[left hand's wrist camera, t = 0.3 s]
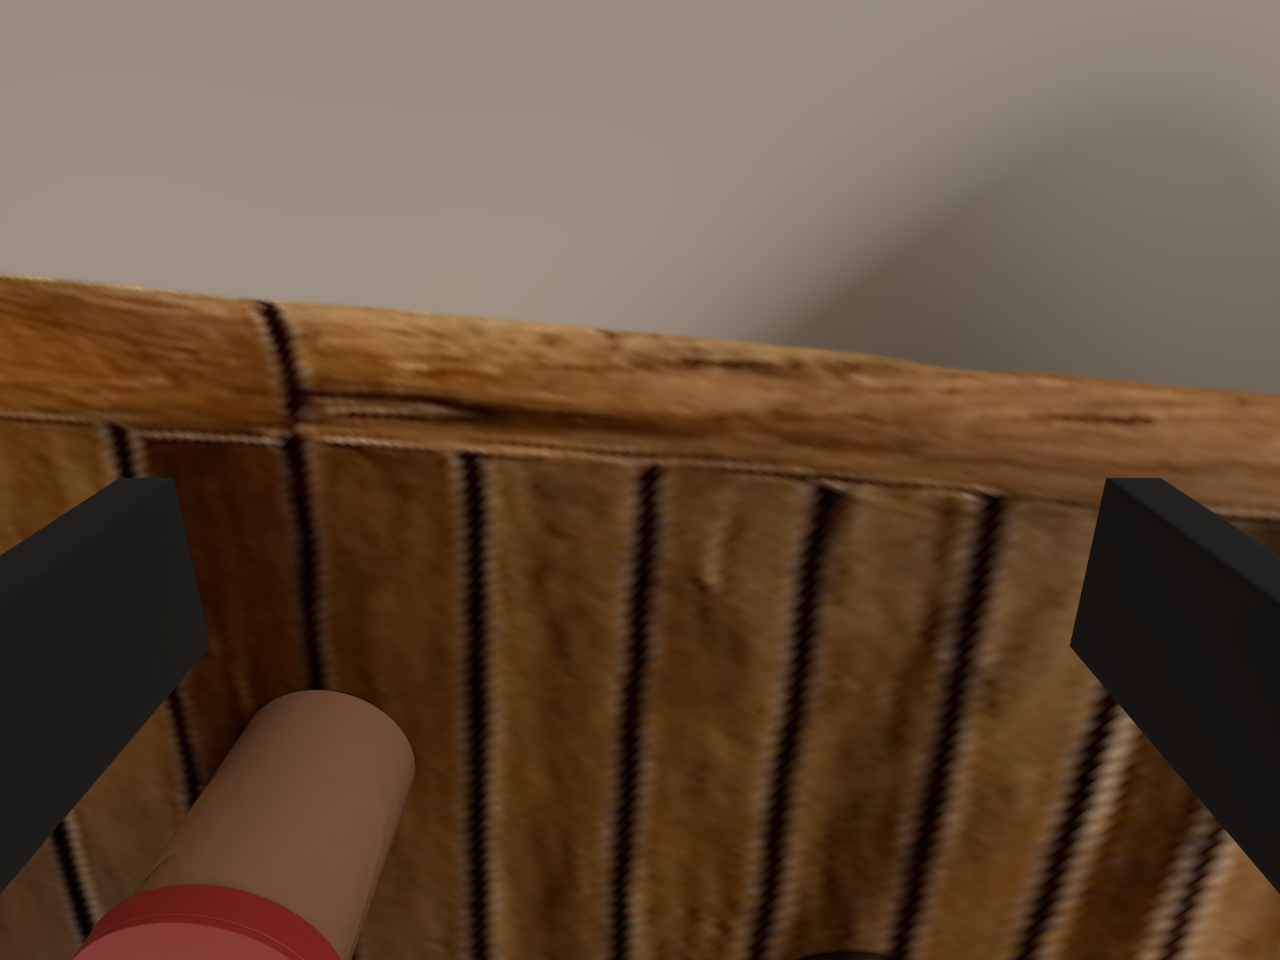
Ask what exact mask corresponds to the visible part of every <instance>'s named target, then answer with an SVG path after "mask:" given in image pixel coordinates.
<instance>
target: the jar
mask: <svg viewBox="0 0 1280 960" xmlns="http://www.w3.org/2000/svg"><path fill="white" fill-rule="evenodd" d="M414 778H415V761H414V755H413V752H412V749H411V746H410V744H409V742H408V740H407V738H406V736H405V735H404V733H403V732H402V730H401V729H400V728H399V727H398V725H397V724H396V723H395V722H394V721H393V720H392V719H391V718H390V717H389V716H388V715H387V714H385V713H384V712H383V711H381V710H380V709H378V708H377V707H375V706H374V705H372V704H370V703H368V702H366V701H364V700H362V699H359V698H357V697H355V696H351V695H348V694H345V693H340V692H335V691H328V690H306V691H298V692H294V693H290V694H286V695H284V696H281V697H279V698H276V699H275V700H273V701H271V702H269V703H267V704H266V705H265V706H263V707H262V708H261V709H260V710H259V711H258V712H257V713H256V714H255V715H254V716H253V717H252V718H251V720H250V721H249V723H248V724H247V726H246V727H245V729H244V730H243V732H242V733H241V735H240V736H239V738H238V739H237V741H236V742H235V744H234V745H233V747H232V748H231V750H230V751H229V753H228V754H227V756H226V757H225V759H224V760H223V762H222V763H221V765H220V766H219V768H218V769H217V771H216V772H215V773H214V775H213V776H212V778H211V779H210V781H209V782H208V784H207V785H206V787H205V788H204V790H203V791H202V793H201V794H200V796H199V797H198V799H197V800H196V802H195V803H194V805H193V806H192V808H191V809H190V811H189V812H188V814H187V815H186V817H185V818H184V820H183V821H182V823H181V824H180V826H179V827H178V829H177V830H176V832H175V833H174V835H173V836H172V838H171V839H170V841H169V842H168V844H167V845H166V847H165V848H164V850H163V851H162V853H161V854H160V856H159V857H158V859H157V860H156V862H155V863H154V865H153V866H152V868H151V869H150V871H149V872H148V874H147V875H146V876H145V878H144V879H143V881H142V882H141V884H140V885H139V887H138V888H137V890H136V891H135V893H134V894H133V896H135V895H138V894H140V893H143V892H146V891H149V890H153V889H157V888H162V887H167V886H176V885H199V884H200V885H212V886H221V887H226V888H232V889H237V890H241V891H244V892H248V893H252V894H255V895H258V896H260V897H263V898H266V899H268V900H271V901H273V902H275V903H277V904H279V905H281V906H283V907H285V908H287V909H289V910H290V911H292V912H294V913H295V914H297V915H298V916H300V917H302V918H303V919H304V920H306V921H307V922H308V923H309V924H311V925H312V926H313V927H315V928H316V929H317V930H318V931H319V932H320V933H321V934H322V935H323V936H324V937H325V938H326V939H327V941H328V942H329V943H330V945H331V946H332V947H333V948H334V950H335V951H336V953H337V955H338V956H339V958H340V960H352V957H353V954H354V951H355V948H356V946H357V943H358V940H359V937H360V934H361V931H362V928H363V926H364V923H365V920H366V917H367V914H368V911H369V908H370V906H371V903H372V900H373V897H374V894H375V891H376V889H377V886H378V883H379V880H380V877H381V874H382V871H383V869H384V866H385V863H386V860H387V857H388V854H389V852H390V849H391V846H392V843H393V840H394V837H395V834H396V832H397V829H398V826H399V823H400V820H401V817H402V815H403V812H404V809H405V806H406V803H407V800H408V797H409V795H410V792H411V789H412V786H413V783H414Z"/></svg>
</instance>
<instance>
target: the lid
mask: <svg viewBox="0 0 1280 960" xmlns="http://www.w3.org/2000/svg"><path fill="white" fill-rule="evenodd" d="M72 960H340V958H339V956H338V955H337V953H336V951H335V950H334V948H333V947H332V946H331V945H330V943H329V942H328V941H327V939H326V938H325V937H324V936H323V935H322V934H321V933H320V932H319V931H318V930H317V929H316V928H315V927H313V926H312V925H311V924H309V923H308V922H307V921H306V920H304V919H303V918H302V917H300V916H298V915H297V914H295V913H294V912H292V911H290V910H289V909H287V908H285V907H283V906H281V905H279V904H277V903H275V902H273V901H271V900H268V899H266V898H263V897H260V896H258V895H255V894H252V893H248V892H244V891H241V890H237V889H232V888H226V887H221V886H212V885H200V884H199V885H176V886H167V887H162V888H157V889H153V890H149V891H146V892H143V893H140V894H138V895H135V896H132V897H131V898H129V899H127V900H125V901H123V902H121V903H119V904H118V905H117V906H115V907H114V908H112V909H111V910H110V911H108V912H107V913H106V914H105V915H104V916H103V917H102V918H101V919H100V920H99V921H98V923H97V924H96V926H95V927H94V929H93V930H92V932H91V933H90V934H89V936H88V937H87V939H86V940H85V942H84V943H83V945H82V946H81V947H80V949H79V950H78V952H77V953H76V955H75V956H74V958H73V959H72Z"/></svg>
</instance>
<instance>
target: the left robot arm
mask: <svg viewBox="0 0 1280 960" xmlns="http://www.w3.org/2000/svg"><path fill="white" fill-rule="evenodd" d="M209 647H210V643H209V638H208V634H207V629H206V625H205V620H204V615H203V611H202V606H201V601H200V597H199V592H198V588H197V583H196V578H195V574H194V569H193V565H192V560H191V555H190V551H189V546H188V542H187V537H186V532H185V528H184V523H183V519H182V514H181V509H180V505H179V500H178V495H177V491H176V486H175V482H174V478H119V479H117V480H116V481H114V482H113V483H111V484H110V485H108V486H106V487H105V488H103V489H102V490H100V491H99V492H97V493H96V494H94V495H93V496H91V497H90V498H88V499H87V500H85V501H83V502H82V503H80V504H79V505H77V506H76V507H74V508H73V509H71V510H70V511H68V512H67V513H65V514H64V515H62V516H60V517H59V518H57V519H56V520H54V521H53V522H51V523H50V524H48V525H47V526H45V527H44V528H42V529H41V530H39V531H37V532H36V533H34V534H33V535H31V536H30V537H28V538H27V539H25V540H24V541H22V542H21V543H19V544H18V545H16V546H15V547H13V548H11V549H10V550H8V551H7V552H5V553H4V554H2V555H1V556H0V894H1V892H2V891H3V890H4V889H5V888H6V887H7V885H8V884H9V883H10V882H11V881H12V879H13V878H14V877H15V876H16V875H17V874H18V872H19V871H20V870H21V869H22V868H23V866H24V865H25V864H26V863H27V862H28V861H29V859H30V858H31V857H32V856H33V855H34V853H35V852H36V851H37V850H38V849H39V848H40V846H41V845H42V844H43V843H44V842H45V840H46V839H47V838H48V837H49V836H50V835H51V833H52V832H53V831H54V830H55V829H56V827H57V826H58V825H59V824H60V823H61V822H62V820H63V819H64V818H65V817H66V816H67V814H68V813H69V812H70V811H71V810H72V809H73V807H74V806H75V805H76V804H77V803H78V801H79V800H80V799H81V798H82V797H83V796H84V794H85V793H86V792H87V791H88V790H89V788H90V787H91V786H92V785H93V784H94V783H95V781H96V780H97V779H98V778H99V777H100V775H101V774H102V773H103V772H104V771H105V770H106V768H107V767H108V766H109V765H110V764H111V762H112V761H113V760H114V759H115V758H116V757H117V755H118V754H119V753H120V752H121V751H122V750H123V748H124V747H125V746H126V745H127V744H128V742H129V741H130V740H131V739H132V738H133V737H134V735H135V734H136V733H137V732H138V731H139V729H140V728H141V727H142V726H143V725H144V724H145V722H146V721H147V720H148V719H149V718H150V716H151V715H152V714H153V713H154V712H155V711H156V709H157V708H158V707H159V706H160V705H161V703H162V702H163V701H164V700H165V699H166V698H167V696H168V695H169V694H170V693H171V692H172V690H173V689H174V688H175V687H176V686H177V685H178V683H179V682H180V681H181V680H182V679H183V677H184V676H185V675H186V674H187V673H188V672H189V670H190V669H191V668H192V667H193V666H194V664H195V663H196V662H197V661H198V660H199V659H200V657H201V656H202V655H203V654H204V653H205V651H206V650H207V649H208V648H209ZM1070 647H1071V648H1072V649H1073V650H1074V651H1075V653H1076V654H1077V655H1078V656H1079V657H1080V659H1081V660H1082V661H1083V662H1084V663H1085V664H1086V666H1087V667H1088V668H1089V669H1090V670H1091V672H1092V673H1093V674H1094V675H1095V676H1096V677H1097V679H1098V680H1099V681H1100V682H1101V683H1102V685H1103V686H1104V687H1105V688H1106V689H1107V690H1108V692H1109V693H1110V694H1111V695H1112V696H1113V698H1114V699H1115V700H1116V701H1117V702H1118V703H1119V705H1120V706H1121V707H1122V708H1123V709H1124V711H1125V712H1126V713H1127V714H1128V715H1129V716H1130V718H1131V719H1132V720H1133V721H1134V722H1135V724H1136V725H1137V726H1138V727H1139V728H1140V729H1141V731H1142V732H1143V733H1144V734H1145V735H1146V737H1147V738H1148V739H1149V740H1150V741H1151V742H1152V744H1153V745H1154V746H1155V747H1156V748H1157V750H1158V751H1159V752H1160V753H1161V754H1162V755H1163V757H1164V758H1165V759H1166V760H1167V761H1168V762H1169V764H1170V765H1171V766H1172V767H1173V768H1174V770H1175V771H1176V772H1177V773H1178V774H1179V775H1180V777H1181V778H1182V779H1183V780H1184V781H1185V783H1186V784H1187V785H1188V786H1189V787H1190V788H1191V790H1192V791H1193V792H1194V793H1195V794H1196V796H1197V797H1198V798H1199V799H1200V800H1201V801H1202V803H1203V804H1204V805H1205V806H1206V807H1207V809H1208V810H1209V811H1210V812H1211V813H1212V814H1213V816H1214V817H1215V818H1216V819H1217V820H1218V822H1219V823H1220V824H1221V825H1222V826H1223V827H1224V829H1225V830H1226V831H1227V832H1228V833H1229V835H1230V836H1231V837H1232V838H1233V839H1234V840H1235V842H1236V843H1237V844H1238V845H1239V846H1240V848H1241V849H1242V850H1243V851H1244V852H1245V853H1246V855H1247V856H1248V857H1249V858H1250V859H1251V861H1252V862H1253V863H1254V864H1255V865H1256V866H1257V868H1258V869H1259V870H1260V871H1261V872H1262V874H1263V875H1264V876H1265V877H1266V878H1267V879H1268V881H1269V882H1270V883H1271V884H1272V885H1273V887H1274V888H1275V889H1276V890H1277V891H1278V892H1279V894H1280V556H1279V555H1278V554H1276V553H1275V552H1273V551H1272V550H1270V549H1269V548H1267V547H1265V546H1264V545H1262V544H1261V543H1259V542H1258V541H1256V540H1255V539H1253V538H1252V537H1250V536H1249V535H1247V534H1246V533H1244V532H1243V531H1241V530H1239V529H1238V528H1236V527H1235V526H1233V525H1232V524H1230V523H1229V522H1227V521H1226V520H1224V519H1223V518H1221V517H1220V516H1218V515H1216V514H1215V513H1213V512H1212V511H1210V510H1209V509H1207V508H1206V507H1204V506H1203V505H1201V504H1200V503H1198V502H1197V501H1195V500H1193V499H1192V498H1190V497H1189V496H1187V495H1186V494H1184V493H1183V492H1181V491H1180V490H1178V489H1177V488H1175V487H1174V486H1172V485H1170V484H1169V483H1167V482H1166V481H1164V480H1163V479H1161V478H1106V482H1105V486H1104V491H1103V495H1102V500H1101V505H1100V509H1099V514H1098V519H1097V523H1096V528H1095V532H1094V537H1093V542H1092V546H1091V551H1090V555H1089V560H1088V565H1087V569H1086V574H1085V578H1084V583H1083V588H1082V592H1081V597H1080V601H1079V606H1078V611H1077V615H1076V620H1075V625H1074V629H1073V634H1072V638H1071V643H1070ZM806 960H899V959H895V958H892V957H888V956H882V955H877V954H868V953H839V954H829V955H824V956H818V957H814V958H810V959H806Z"/></svg>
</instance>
